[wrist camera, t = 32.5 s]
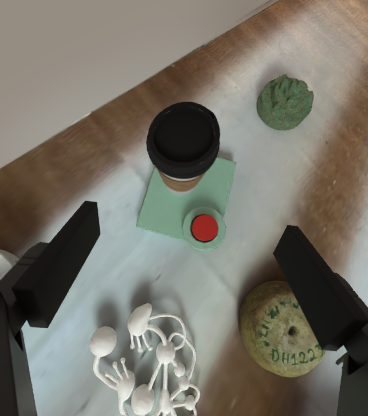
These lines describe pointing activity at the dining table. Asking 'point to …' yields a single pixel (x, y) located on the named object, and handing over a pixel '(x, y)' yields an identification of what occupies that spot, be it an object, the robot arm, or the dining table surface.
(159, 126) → the coffee cup
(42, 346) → the dining table surface
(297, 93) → the decorative artifact
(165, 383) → the tangled rod sculpture
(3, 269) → the teacup
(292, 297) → the weight
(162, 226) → the green button base
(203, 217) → the red push button
